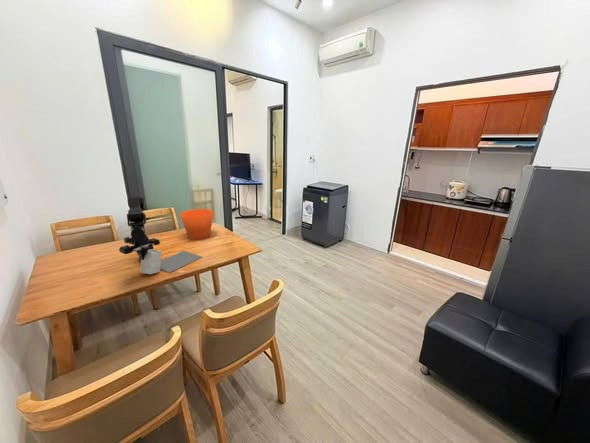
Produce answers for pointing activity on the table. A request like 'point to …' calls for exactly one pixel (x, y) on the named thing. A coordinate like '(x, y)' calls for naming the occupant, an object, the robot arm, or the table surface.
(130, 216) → the robot arm
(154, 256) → the supplement box
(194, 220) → the flowerpot
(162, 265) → the mat
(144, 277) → the table surface
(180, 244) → the table surface
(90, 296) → the table surface
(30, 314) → the table surface
